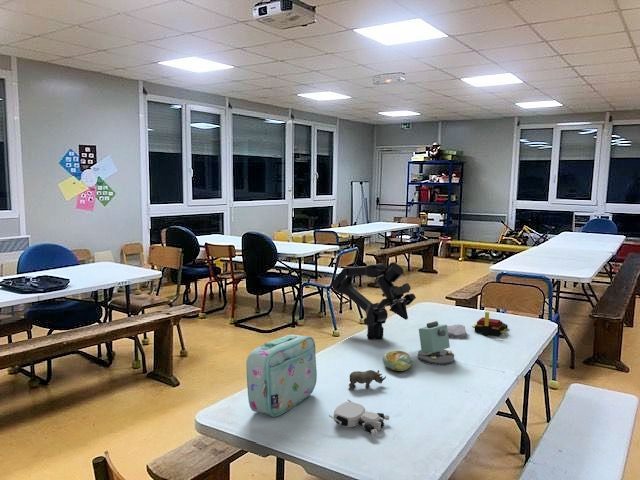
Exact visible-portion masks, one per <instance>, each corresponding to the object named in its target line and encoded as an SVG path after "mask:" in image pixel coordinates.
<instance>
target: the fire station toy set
mask: <svg viewBox="0 0 640 480" xmlns="http://www.w3.org/2000/svg"><path fill="white" fill-rule="evenodd" d="M471 327H472V329H473V328H474V333H479V334H481V335H483V336H489V337H490V336H495V337H496V336H497V337H499V336H501V335H502V334H503V333H505V332H507V329H508V327H509V324H507V323H504V322H503V321H502V320H501V319H494V318H491V317H490V311H485V313H484V317H481V318H479V319H478V320H477V321H476V323H474V324H473V325H471Z"/></svg>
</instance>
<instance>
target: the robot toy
mask: <svg viewBox="0 0 640 480" xmlns="http://www.w3.org/2000/svg"><path fill="white" fill-rule="evenodd" d="M346 400H347V401H346V402H343V403H341V404H339V405H337V406H336V408H335V409H334V411H333V416H332V415H331V414H329V415H328V417H329V418H331V419H333V421H334V422H335V423H336V424H337V425H340V427H343V428H353V427H356V426H360V427H361V428H363V429H364V431H365V432H367V433H368V434H372V435H376V434H378V431H380V430H381V429H383V428H384V426H385V423H384V422H385V421H384V420H386V421H389V420H390V415H387V414H384V412H383V413H382V412H376V413H375V412H373V411H368V410H367V411H366V408H365V406H364V405H363V404H359V403H356V402H353V401H352V400H350V399H346Z"/></svg>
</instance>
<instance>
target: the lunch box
mask: <svg viewBox="0 0 640 480" xmlns="http://www.w3.org/2000/svg"><path fill="white" fill-rule="evenodd" d="M316 356H317V355H316V343H315V340H314V338H313V337H312V336H310V335H309V336H306V335H297V334H293V333H292V334H288V335H284V336H283V337H278V338H276V339H274V340H271V341H269V342H267V341H266V342H264V344H262V345H260V346H258V347H256V348H255V349H252V351H251V352H250V353H249V354H248V356H247V358H246V368H245V369H246V386H247V388H246V389H247V399H248V404H249V407H250V409H251V411H252V412H256V413H261V414H266V415H269V416H271V417H274V418H275V417H279V416H282V415H283V414H284V413H286V412H288V411H289V410H291V409H292V408H294V407H295V406H296V405H298V404H300V403H301V402H302V401H303V400H304V399H306V398H307V397H309V396H310V395H311V394H313V392H314V390H315V387H316V385H317V378H318V377H317V376H318V375H317V373H318V370H317V360H316V359H317V357H316Z"/></svg>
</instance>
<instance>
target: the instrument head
mask: <svg viewBox="0 0 640 480" xmlns="http://www.w3.org/2000/svg"><path fill="white" fill-rule="evenodd" d="M447 326H448V325H447V324H439V321H438V320H434V321H432V322H428V323H426V326H424V327H419V328H418V334H419V335H418V336H419V342H420V350H421V351H422V352H431V353H434V352H437V351H440V350H443V349H444V350H447V349H449V348H451V347H450V339H449V338H450V337H448V330H447Z"/></svg>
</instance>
